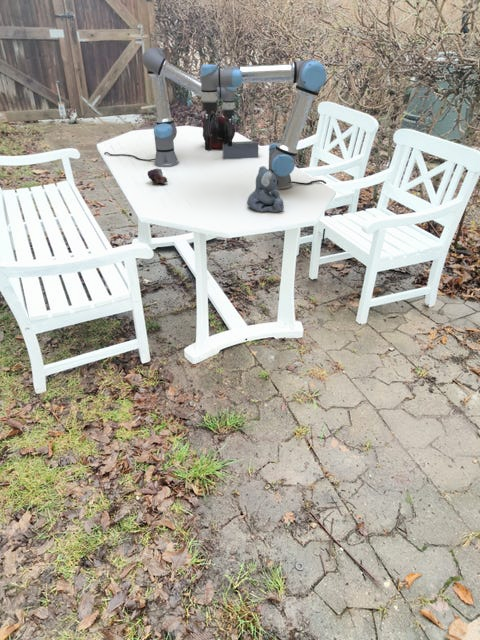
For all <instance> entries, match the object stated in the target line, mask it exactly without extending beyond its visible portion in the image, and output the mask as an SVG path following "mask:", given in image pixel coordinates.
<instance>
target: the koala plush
mask: <svg viewBox="0 0 480 640" xmlns="http://www.w3.org/2000/svg"><path fill="white" fill-rule="evenodd" d="M278 184H279V181H278V180H277V179H276V177H275V176H274V174H273V173H272V171H271V170H269V168H267V166H265V165H262V166H260V167H259V168H258V172H257V175H256V178H255V190H254V191H252V192H251V193H250V195H248V198H247V201H246V205H247V207H248V208H250V209H252V210H254V211H256V212H262V213H263V212H270V213H278V212H279V213H280V212H282V211H284V209H285V205H284V201H283V198H282V197H281V196H280V192H279V190H277V189H276V190H275V187H276V186H277V185H278Z"/></svg>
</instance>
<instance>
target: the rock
mask: <svg viewBox="0 0 480 640" xmlns="http://www.w3.org/2000/svg"><path fill="white" fill-rule="evenodd" d="M147 176H148V179H149V180H150V181H151V183H153V184H156V185H157V184H166V183H168V178H167V177H166V176H164V175H163V171H162V169H161V168H153V169H151V170H148V171H147Z"/></svg>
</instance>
